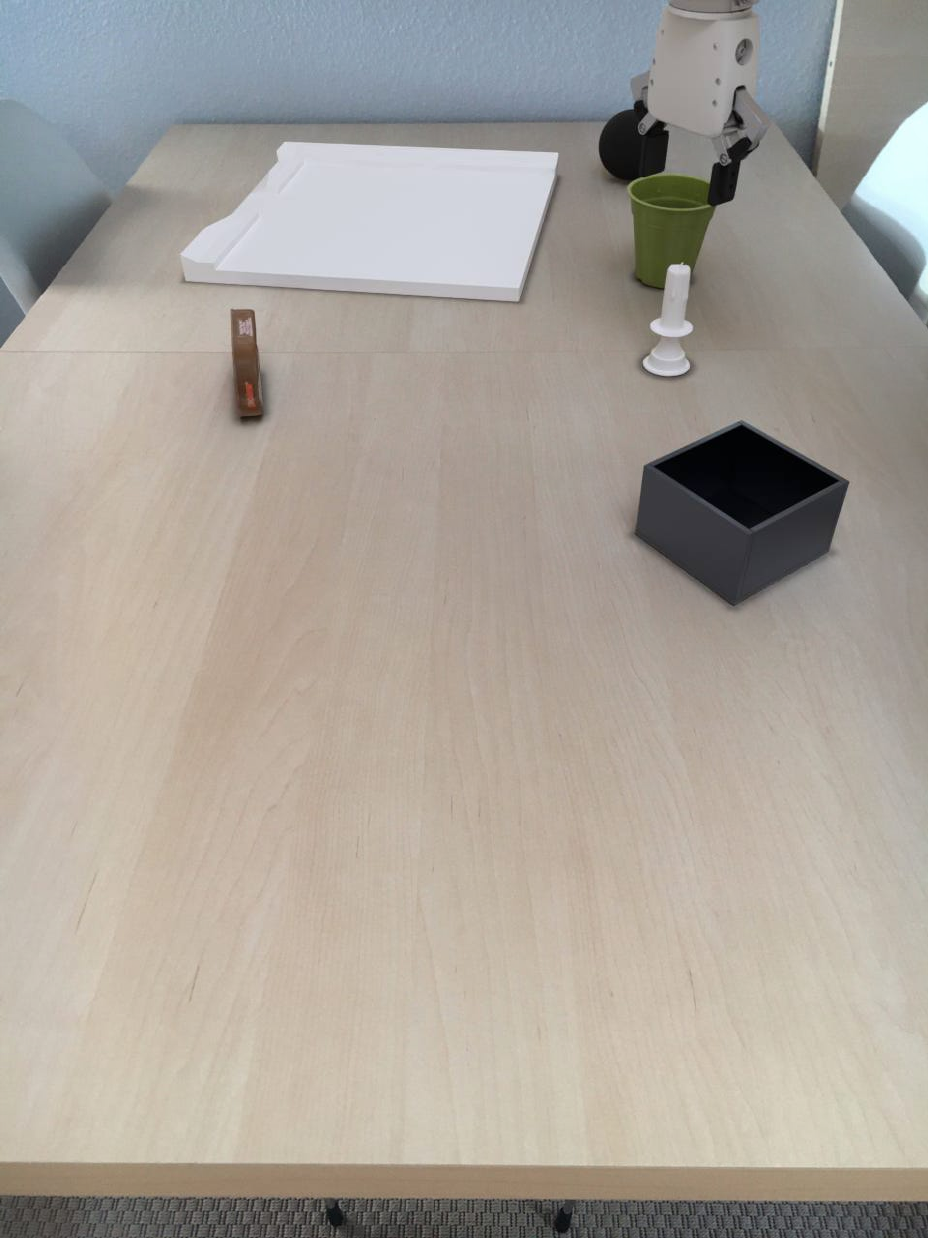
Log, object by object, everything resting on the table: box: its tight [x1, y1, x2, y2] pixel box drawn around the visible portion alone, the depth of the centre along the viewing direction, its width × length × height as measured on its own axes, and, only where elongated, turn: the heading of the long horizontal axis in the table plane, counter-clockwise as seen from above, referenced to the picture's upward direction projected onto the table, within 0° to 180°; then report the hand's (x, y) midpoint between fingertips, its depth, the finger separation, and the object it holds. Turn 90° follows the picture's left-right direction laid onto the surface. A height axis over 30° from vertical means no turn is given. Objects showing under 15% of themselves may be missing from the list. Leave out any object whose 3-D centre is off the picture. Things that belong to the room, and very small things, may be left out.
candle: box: [642, 262, 694, 377], centre depth 109 cm, size 5×5×12 cm
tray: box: [179, 141, 559, 303], centre depth 144 cm, size 45×45×4 cm
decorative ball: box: [598, 108, 643, 181], centre depth 154 cm, size 10×10×10 cm
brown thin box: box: [230, 308, 264, 418], centre depth 107 cm, size 15×3×8 cm, turn 10°
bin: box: [634, 419, 850, 606], centre depth 87 cm, size 12×12×8 cm
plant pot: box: [626, 173, 717, 289], centre depth 126 cm, size 12×12×11 cm
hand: (684, 187), depth 100 cm, fingers open, 9 cm apart
